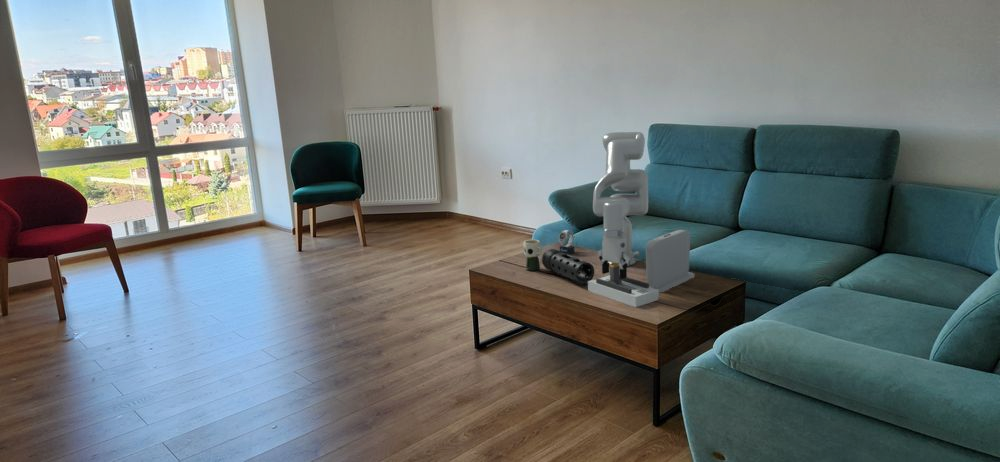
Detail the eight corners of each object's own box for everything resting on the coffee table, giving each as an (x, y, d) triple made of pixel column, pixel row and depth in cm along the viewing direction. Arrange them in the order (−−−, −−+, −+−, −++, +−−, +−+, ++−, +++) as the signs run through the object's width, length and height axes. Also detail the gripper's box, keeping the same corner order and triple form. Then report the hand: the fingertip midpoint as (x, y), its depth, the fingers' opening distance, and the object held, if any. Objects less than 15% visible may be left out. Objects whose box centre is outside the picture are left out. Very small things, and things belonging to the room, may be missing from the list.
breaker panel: (610, 284, 270) (610, 274, 269) (658, 299, 249) (658, 289, 248) (588, 290, 264) (587, 280, 263) (635, 307, 243) (635, 296, 242)
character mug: (518, 269, 298) (517, 241, 295) (530, 265, 303) (528, 238, 300) (536, 273, 290) (534, 245, 287) (547, 269, 295) (546, 241, 292)
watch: (557, 253, 321) (556, 231, 318) (568, 250, 325) (568, 228, 323) (565, 255, 316) (564, 233, 314) (577, 251, 321) (576, 229, 319)
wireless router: (677, 271, 283) (678, 225, 278) (699, 275, 276) (699, 228, 271) (636, 289, 262) (635, 240, 257) (658, 294, 255) (658, 244, 250)
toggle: (614, 280, 261) (614, 261, 260) (622, 282, 258) (621, 263, 256) (607, 282, 259) (607, 263, 257) (614, 284, 256) (614, 265, 254)
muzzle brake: (576, 288, 268) (575, 264, 265) (540, 272, 292) (539, 249, 289) (595, 284, 272) (594, 260, 269) (558, 268, 296) (558, 246, 294)
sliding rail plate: (615, 277, 266) (615, 273, 265) (649, 287, 251) (649, 283, 251) (596, 283, 260) (596, 279, 260) (629, 293, 245) (629, 289, 245)
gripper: (637, 235, 249) (637, 278, 253) (605, 228, 263) (606, 269, 267) (622, 238, 245) (623, 282, 249) (591, 231, 259) (592, 273, 263)
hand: (614, 275), depth 258 cm, fingers open, 9 cm apart
